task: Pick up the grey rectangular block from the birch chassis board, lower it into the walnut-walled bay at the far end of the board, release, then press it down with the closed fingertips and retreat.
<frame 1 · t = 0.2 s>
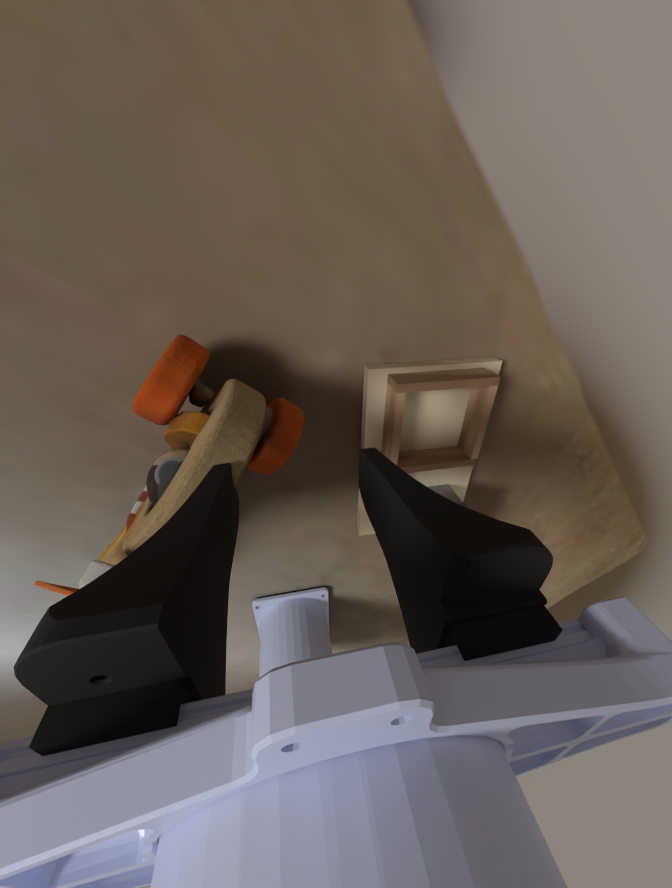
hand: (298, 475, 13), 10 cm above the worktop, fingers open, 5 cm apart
chassis: (416, 453, 27), on the worktop
toy helicopter: (188, 444, 23), on the worktop, touching gripper
grey rectangular block: (424, 503, 29), point 1 cm above the worktop, touching chassis
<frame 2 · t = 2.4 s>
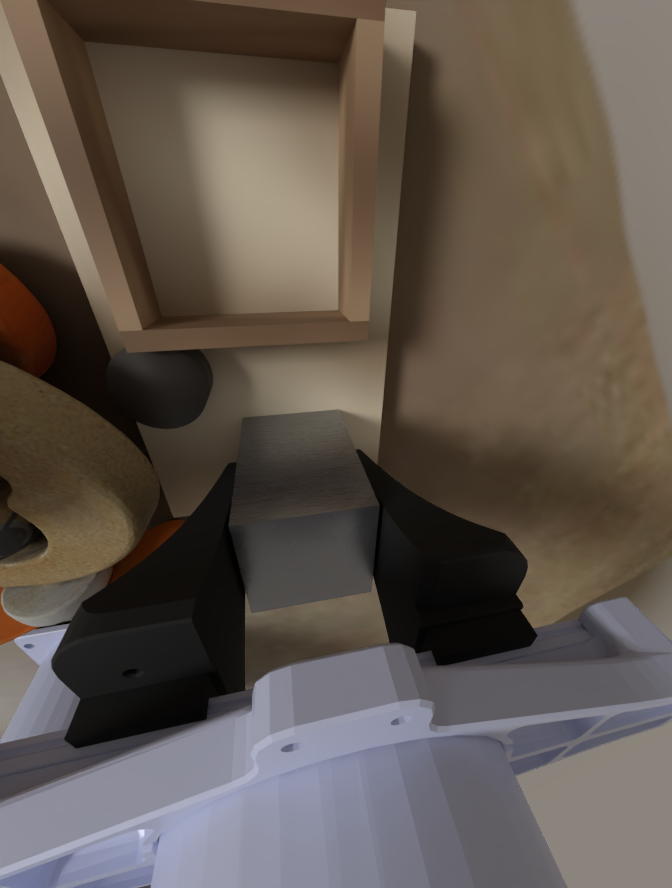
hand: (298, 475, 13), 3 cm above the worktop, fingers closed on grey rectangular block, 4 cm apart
chassis: (258, 335, 12), on the worktop
grey rectangular block: (294, 452, 14), point 1 cm above the worktop, touching chassis, gripper
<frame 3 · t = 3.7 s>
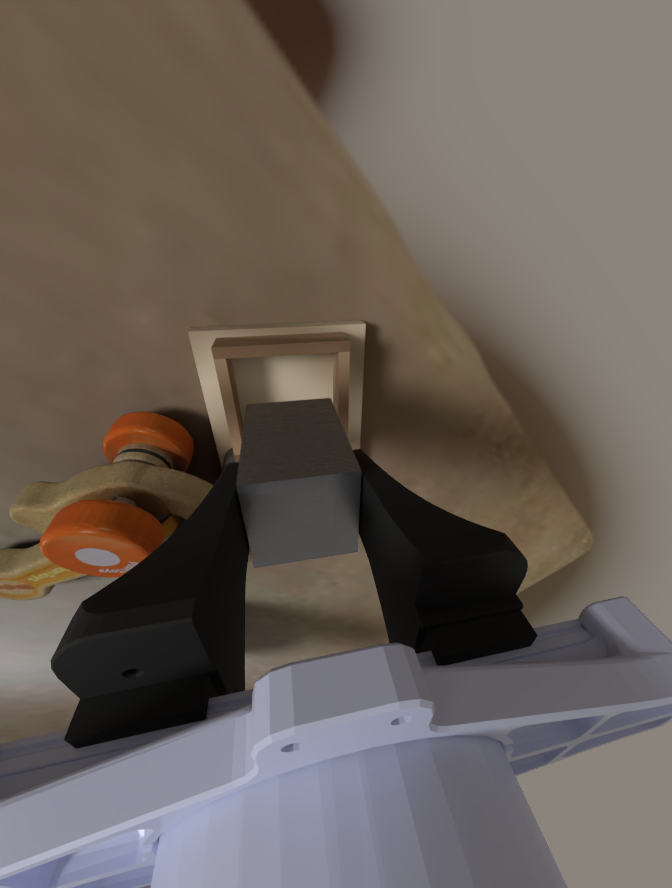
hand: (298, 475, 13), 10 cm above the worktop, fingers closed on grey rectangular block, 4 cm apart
chassis: (290, 438, 23), on the worktop
toy helicopter: (9, 497, 17), point 4 cm above the worktop
grey rectangular block: (292, 436, 16), point 6 cm above the worktop, touching gripper
when the fingers open (4 cm above the worktop, at t = 5.1 s): grey rectangular block stays where it is, resting on chassis.
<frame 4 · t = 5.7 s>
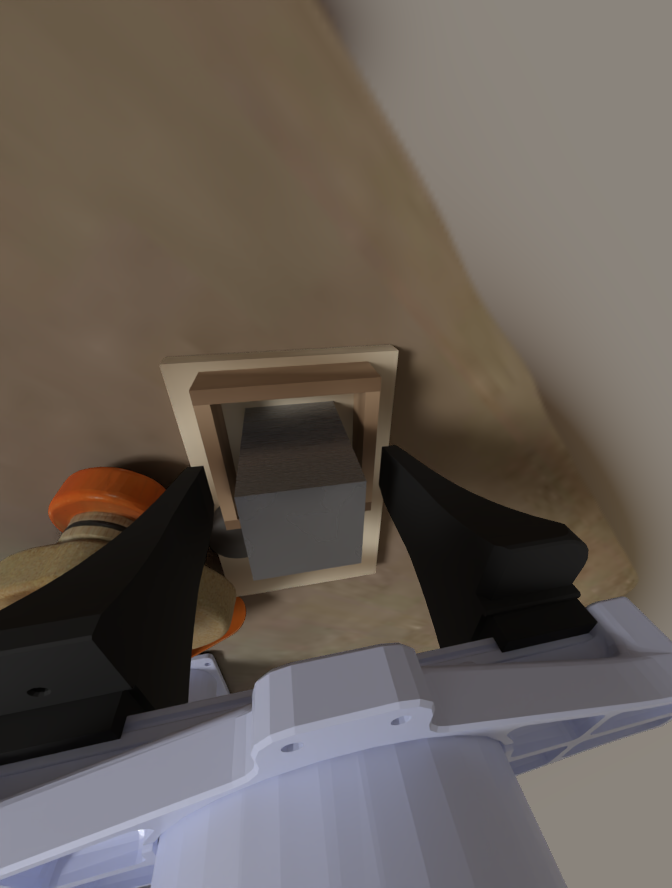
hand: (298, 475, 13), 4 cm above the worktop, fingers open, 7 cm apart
chassis: (296, 487, 18), on the worktop
grey rectangular block: (293, 441, 16), point 1 cm above the worktop, touching chassis
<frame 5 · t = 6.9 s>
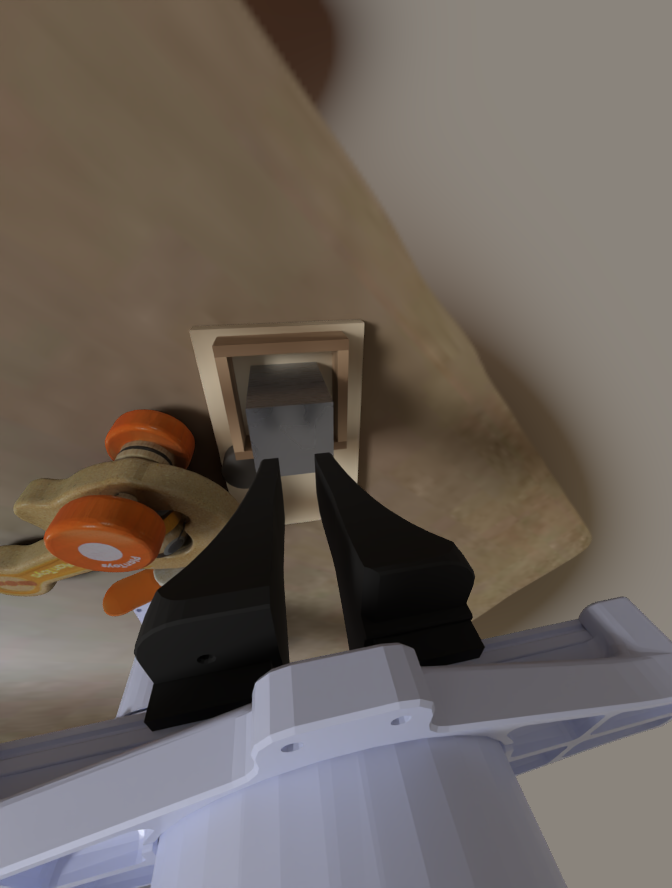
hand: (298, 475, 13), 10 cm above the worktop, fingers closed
chassis: (290, 436, 23), on the worktop
toy helicopter: (13, 493, 18), point 4 cm above the worktop
grey rectangular block: (286, 393, 20), point 1 cm above the worktop, touching chassis
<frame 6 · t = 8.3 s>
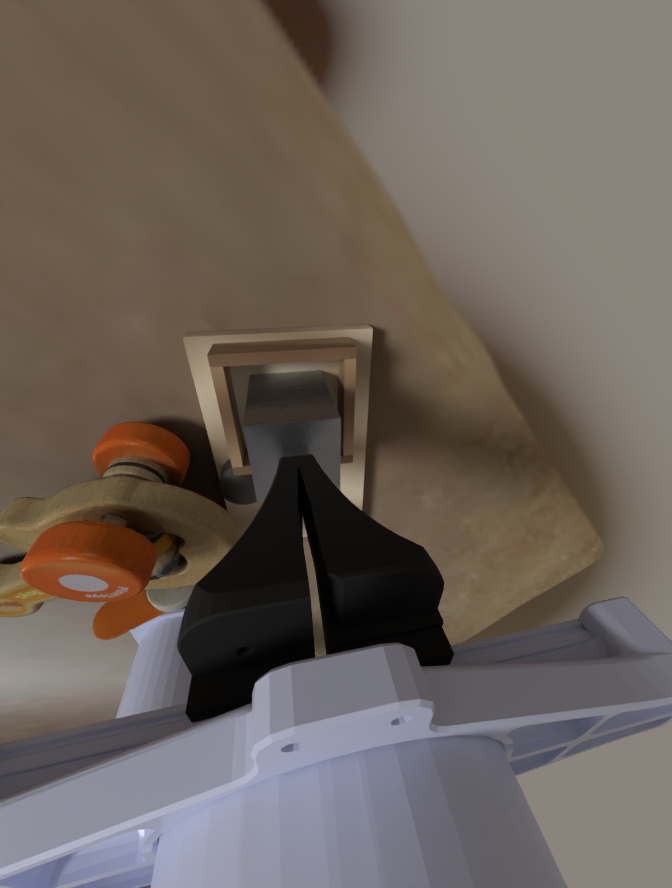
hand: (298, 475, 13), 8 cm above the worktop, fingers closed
chassis: (292, 447, 22), on the worktop
grey rectangular block: (288, 404, 19), point 1 cm above the worktop, touching chassis
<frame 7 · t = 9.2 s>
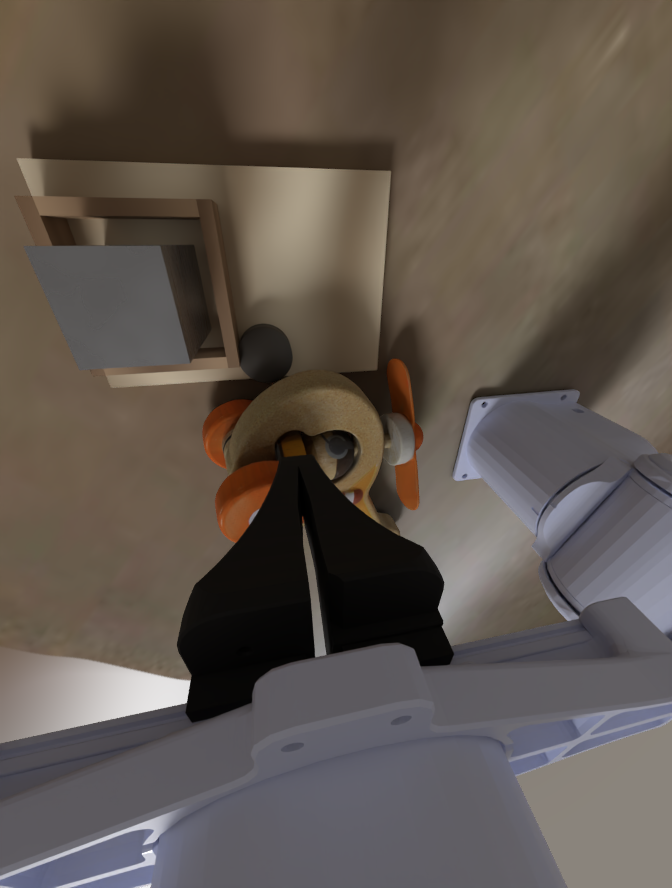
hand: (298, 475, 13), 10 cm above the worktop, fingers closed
chassis: (240, 286, 18), on the worktop
toy helicopter: (267, 532, 23), point 4 cm above the worktop
grey rectangular block: (162, 290, 16), point 1 cm above the worktop, touching chassis
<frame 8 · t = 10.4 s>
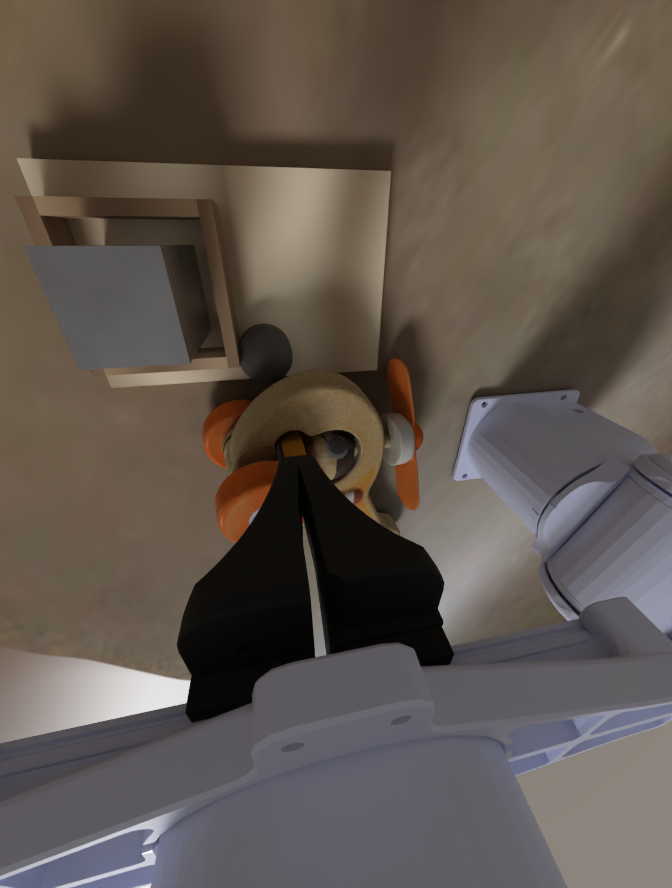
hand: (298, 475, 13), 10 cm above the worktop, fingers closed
chassis: (240, 286, 18), on the worktop
toy helicopter: (267, 532, 23), point 4 cm above the worktop
grey rectangular block: (162, 290, 16), point 1 cm above the worktop, touching chassis
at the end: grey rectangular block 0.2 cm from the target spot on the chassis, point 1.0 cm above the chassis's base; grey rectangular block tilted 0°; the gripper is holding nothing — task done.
